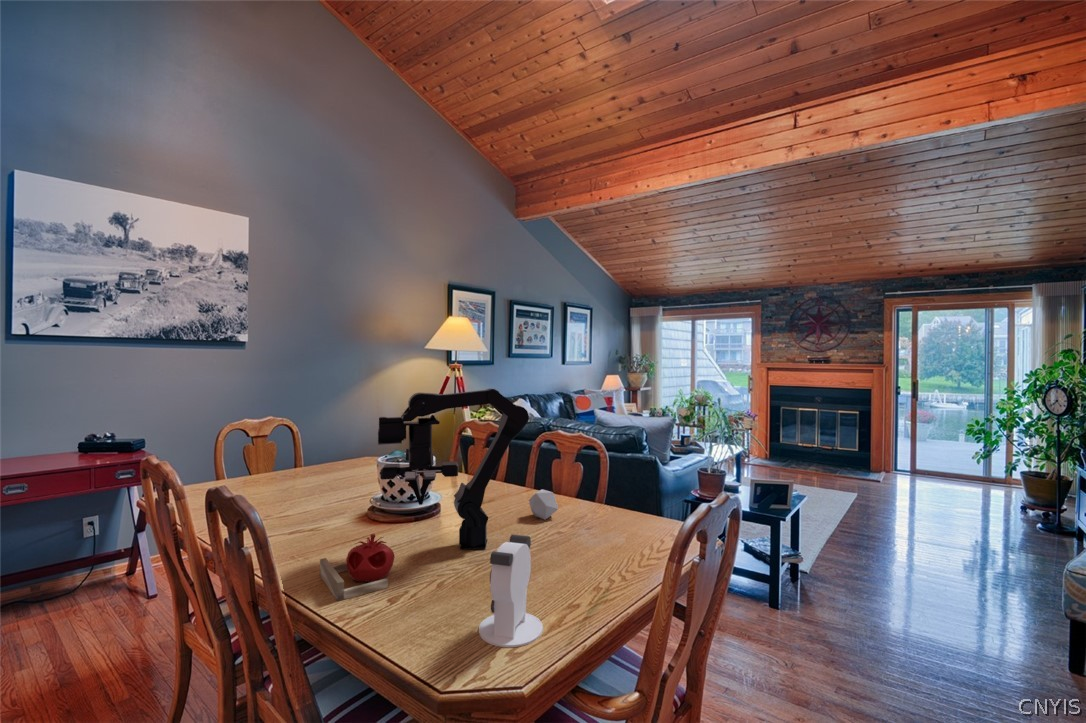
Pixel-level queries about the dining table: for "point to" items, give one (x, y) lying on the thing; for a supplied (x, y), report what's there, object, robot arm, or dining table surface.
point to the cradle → (337, 583)
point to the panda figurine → (510, 597)
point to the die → (543, 504)
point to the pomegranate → (370, 560)
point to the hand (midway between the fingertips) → (420, 504)
